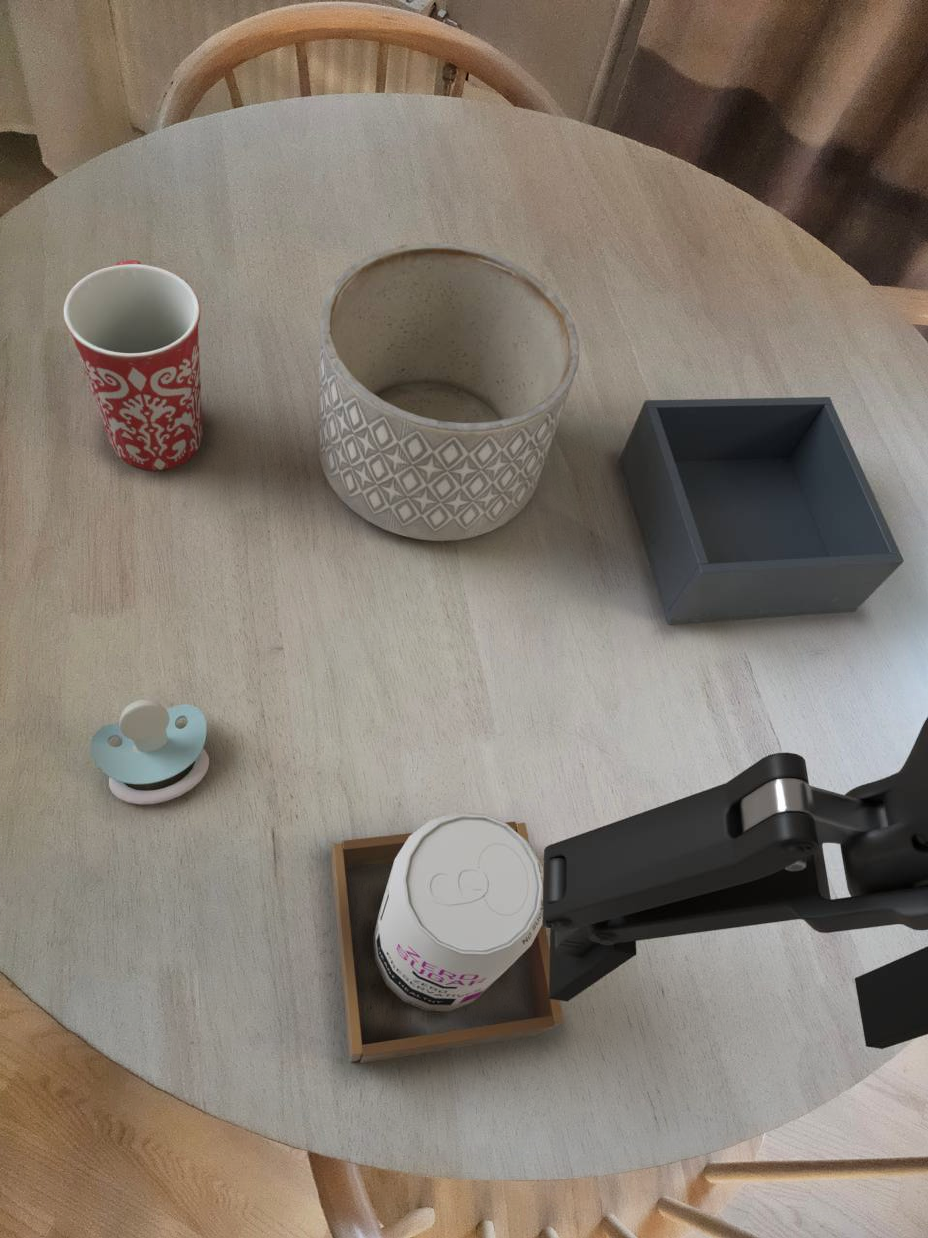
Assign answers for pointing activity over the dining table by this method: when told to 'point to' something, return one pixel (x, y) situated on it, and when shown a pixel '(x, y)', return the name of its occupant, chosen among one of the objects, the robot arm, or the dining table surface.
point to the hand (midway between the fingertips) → (717, 989)
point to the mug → (141, 360)
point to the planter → (440, 388)
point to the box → (546, 1019)
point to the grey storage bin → (754, 509)
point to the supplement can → (457, 910)
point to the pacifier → (152, 750)
